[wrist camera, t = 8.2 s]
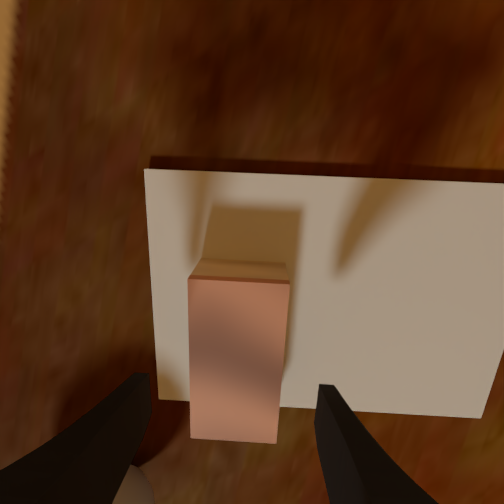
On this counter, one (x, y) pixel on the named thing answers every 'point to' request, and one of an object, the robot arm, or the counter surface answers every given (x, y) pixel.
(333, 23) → the counter surface
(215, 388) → the pink and beige box
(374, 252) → the mat
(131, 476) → the donut
